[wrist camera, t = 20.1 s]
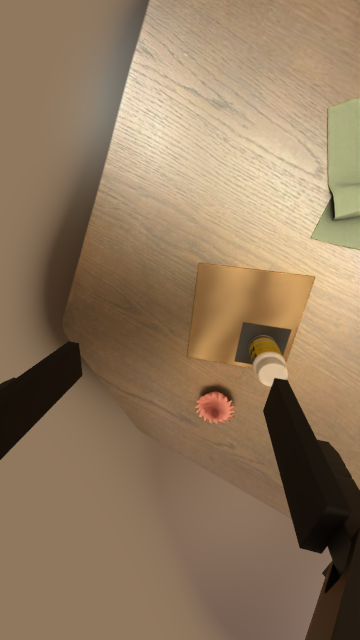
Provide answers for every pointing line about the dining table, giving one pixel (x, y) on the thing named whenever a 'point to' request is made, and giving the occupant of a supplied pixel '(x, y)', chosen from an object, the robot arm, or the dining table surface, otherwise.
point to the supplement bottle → (267, 360)
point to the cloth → (342, 177)
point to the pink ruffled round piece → (215, 407)
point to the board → (244, 311)
